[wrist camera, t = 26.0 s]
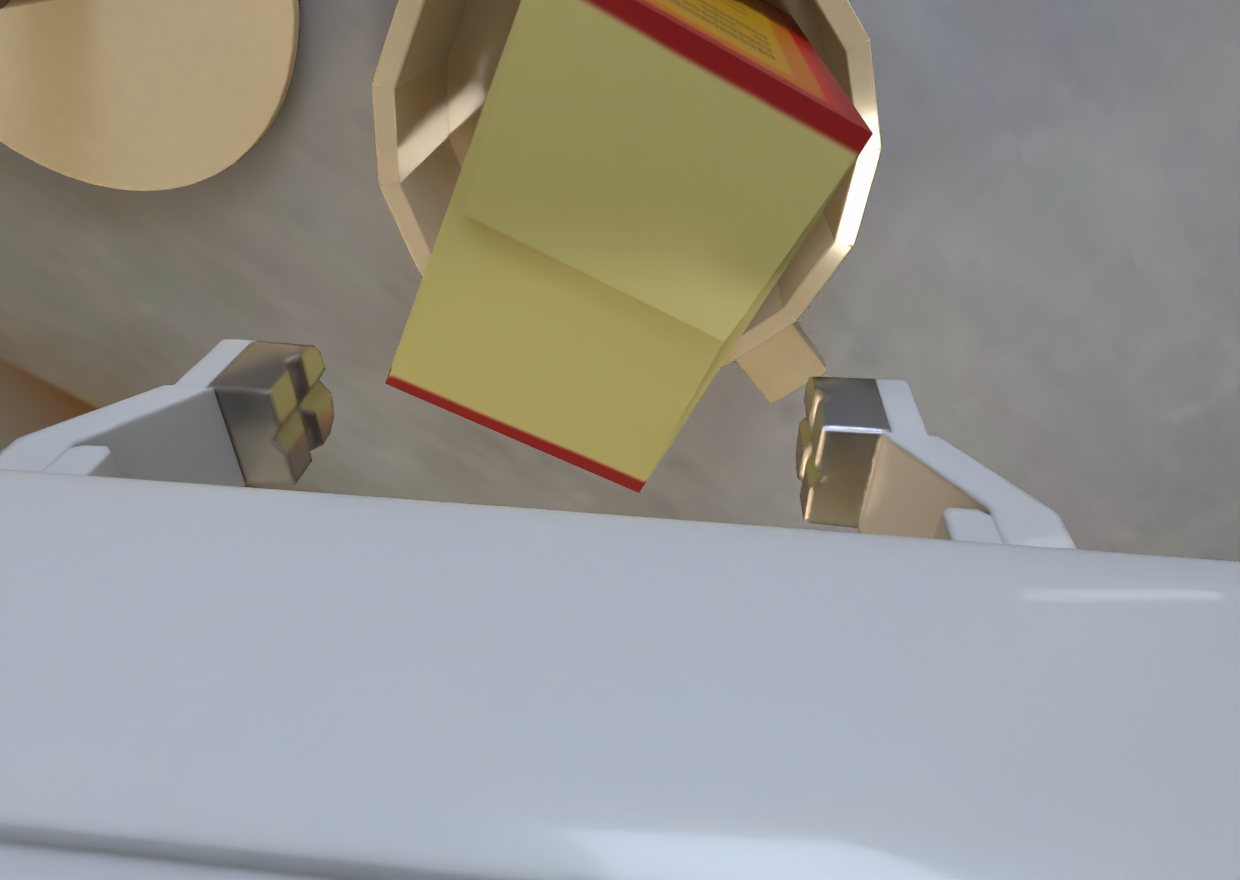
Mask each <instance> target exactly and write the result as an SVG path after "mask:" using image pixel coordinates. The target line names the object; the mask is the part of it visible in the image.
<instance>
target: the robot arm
mask: <svg viewBox="0 0 1240 880" xmlns="http://www.w3.org/2000/svg"><path fill="white" fill-rule="evenodd" d="M324 371H325V367H324V363H323V359H322V356H321V352H320V351H319V350H318V349H317V348H316V347H315V346H314V345H301V344H289V343H277V342H264V341H255V340H235V339H229V340H222V341H221V342H220V343H219V344H218V345H217V346H216V347H214V348H213V349H212V350H211V351H210V352H209V353H208V354H207V355H206V356H205V357H204V358H203V359H202V360H200V361H199V362H198V363H197V364H196V365H195V366H194V367H193V368H192V369H191V370H190V371H189V372H188V373H187V374H185V375H184V376H183V377H182V378H181V379H180V380H179V381H178V382H177V383H176V384H175V385H174V386H171V385H163V386H161V387H158V388H155V389H152V390H150V391H147V392H144V393H141V394H139V395H136V396H133V397H130V398H128V399H125V400H122V401H119V402H117V403H114V404H111V405H108V406H105V407H103V408H100V409H97V410H94V411H92V412H89V413H86V414H83V415H81V416H78V417H75V418H72V419H70V420H67V421H64V422H61V423H59V424H56V425H53V426H50V427H48V428H45V429H42V430H39V431H36V432H34V433H31V434H28V435H25V436H23V437H20V438H17V439H16V440H15V441H14V442H13V443H11V444H10V445H9V446H8V447H6V448H5V449H4V450H3V451H1V452H0V880H1240V562H1237V561H1224V560H1210V559H1197V558H1184V557H1171V556H1157V555H1144V554H1131V553H1118V552H1104V551H1091V550H1077V548H1076V546H1075V544H1074V542H1073V541H1072V539H1071V537H1070V535H1069V533H1068V531H1067V529H1066V528H1065V526H1064V524H1063V522H1062V520H1061V518H1060V516H1059V515H1058V513H1056V512H1055V511H1053V510H1051V509H1050V508H1048V507H1047V506H1045V505H1044V504H1042V503H1041V502H1039V501H1038V500H1036V499H1034V498H1033V497H1031V496H1030V495H1028V494H1027V493H1025V492H1024V491H1022V490H1021V489H1019V488H1017V487H1016V486H1014V485H1013V484H1011V483H1010V482H1008V481H1007V480H1005V479H1004V478H1002V477H1000V476H999V475H997V474H996V473H994V472H993V471H991V470H990V469H988V468H986V467H985V466H983V465H982V464H980V463H979V462H977V461H976V460H974V459H973V458H971V457H969V456H968V455H966V454H965V453H963V452H962V451H960V450H959V449H957V448H956V447H954V446H952V445H951V444H949V443H948V442H946V441H945V440H943V439H942V438H940V437H939V436H929V435H928V432H927V430H926V427H925V425H924V422H923V420H922V417H921V415H920V412H919V410H918V407H917V405H916V402H915V400H914V397H913V394H912V392H911V389H910V387H909V384H908V382H906V381H905V380H887V379H863V378H836V377H809V379H808V383H807V386H806V391H805V396H804V404H805V410H806V416H807V417H805V418H804V419H803V420H802V421H801V422H800V424H799V431H798V438H797V448H796V470H797V478H798V479H799V480H801V481H802V487H801V492H800V500H801V506H802V513H803V519H804V523H812V524H822V525H832V526H842V527H852V528H858V531H859V532H860V533H850V532H837V531H824V530H810V529H797V528H783V527H770V526H757V525H743V524H730V523H716V522H703V521H690V520H676V519H663V518H649V517H636V516H622V515H609V514H596V513H582V512H569V511H555V510H542V509H529V508H515V507H502V506H489V505H475V504H462V503H449V502H435V501H422V500H409V499H395V498H382V497H369V496H355V495H342V494H329V493H315V492H302V491H289V490H275V489H262V488H249V487H243V486H244V485H245V483H267V484H288V485H296V483H297V482H298V480H299V479H300V477H301V476H302V474H303V473H304V472H305V470H306V469H307V467H308V466H309V464H310V463H311V462H312V458H311V454H310V451H311V450H313V449H315V448H317V447H319V446H321V445H323V444H324V442H325V441H326V439H327V438H328V436H329V435H330V432H331V428H332V424H333V419H334V409H333V401H332V396H331V392H330V391H329V390H328V389H327V388H326V387H325V386H324V385H323V384H322V383H321V382H320V380H319V379H320V377H321V376H322V374H323V372H324Z"/></svg>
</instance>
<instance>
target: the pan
mask: <svg viewBox="0 0 1240 880" xmlns="http://www.w3.org/2000/svg"><path fill="white" fill-rule="evenodd" d="M764 1H766V2H768V3H769V4H771V5H773V6H774V7H776V8H778V9H780V10H781V11H783V12H785V13H787V14H788V15H790V16H792V17H793V19H794V20H795V21H796V23H797V24H798V26H799V27H800V29H801V30H802V32H803V33H804V34H805V36H806V37H807V39H808V40H809V42H810V43H811V45H812V46H813V47H814V49H815V50H816V52H817V53H818V55H819V56H820V58H821V59H822V60H823V62H824V63H825V65H826V66H827V68H828V69H829V71H830V72H831V73H832V75H833V76H834V78H835V79H836V81H837V82H838V84H839V85H840V86H841V88H842V89H843V91H844V92H845V94H846V95H847V97H848V98H849V99H850V101H851V102H852V104H853V105H854V107H855V108H856V110H857V111H858V112H859V114H860V115H861V117H862V118H863V120H864V121H865V123H866V124H867V125H868V127H869V128H870V130H871V131H872V133H873V135H872V136H871V138H870V139H869V141H868V142H867V144H866V146H865V147H864V149H863V150H862V152H861V153H860V155H859V156H858V158H857V159H856V161H855V162H854V164H853V165H852V167H851V168H850V170H849V172H848V173H847V175H846V176H845V178H844V179H843V181H842V182H841V184H840V185H839V187H838V188H837V190H836V191H835V193H834V195H833V196H832V198H831V199H830V201H829V202H828V204H827V205H826V207H825V208H824V210H823V211H822V213H821V214H820V216H819V218H818V219H817V221H816V222H815V224H814V225H813V227H812V228H811V230H810V231H809V233H808V234H807V236H806V237H805V239H804V241H803V242H802V244H801V245H800V247H799V248H798V250H797V251H796V253H795V254H794V256H793V257H792V259H791V260H790V262H789V264H788V265H787V267H786V268H785V270H784V271H783V273H782V274H781V276H780V277H779V279H778V280H777V282H776V283H775V285H774V287H773V288H772V290H771V291H770V293H769V294H768V296H767V297H766V299H765V300H764V302H763V303H762V305H761V306H760V308H759V310H758V311H757V313H756V314H755V316H754V317H753V319H752V320H751V322H750V323H749V325H748V326H747V328H746V329H745V331H744V333H743V334H742V336H741V337H740V339H739V340H738V342H737V343H736V345H735V346H734V348H733V349H732V351H731V352H730V354H729V355H728V357H727V359H726V360H725V362H724V363H723V365H722V366H721V368H722V367H725V366H726V365H728V364H730V363H731V362H733V361H734V360H736V361H737V362H738V363H739V364H740V366H741V367H742V368H743V369H744V371H745V372H746V373H747V374H748V376H749V377H750V378H751V379H752V381H753V382H754V383H755V384H756V385H757V387H758V388H759V389H760V390H761V392H762V393H763V394H764V395H765V397H766V398H767V399H768V400H769V402H770V403H771V404H773V403H775V402H776V401H778V400H780V399H781V398H783V397H785V396H787V395H788V394H790V393H792V392H793V391H795V390H797V389H799V388H800V387H802V386H804V385H805V384H807V383H808V379H809V377H819V376H821V375H822V374H824V373H826V372H827V368H826V364H825V360H824V358H823V356H822V355H821V354H820V352H819V351H818V350H817V348H816V347H815V345H814V344H813V343H812V341H811V340H810V339H809V337H808V336H807V335H806V333H805V332H804V331H803V329H802V328H801V327H800V325H799V324H798V323H797V320H798V319H799V318H800V317H801V315H802V314H803V313H804V311H805V310H806V309H807V307H808V306H809V305H810V303H811V302H812V301H813V300H814V298H815V297H816V296H817V294H818V293H819V292H820V290H821V289H822V288H823V286H824V285H825V284H826V282H827V281H828V280H829V279H830V277H831V276H832V275H833V273H834V272H835V271H836V269H837V268H838V267H839V265H840V264H841V263H842V261H843V260H844V259H845V258H846V256H847V255H848V254H849V252H850V251H851V250H852V248H853V246H854V245H855V243H856V239H857V236H858V232H859V229H860V225H861V222H862V218H863V215H864V211H865V208H866V204H867V201H868V197H869V194H870V190H871V187H872V183H873V180H874V176H875V173H876V169H877V166H878V162H879V159H880V155H881V152H882V139H881V130H880V121H879V112H878V103H877V94H876V85H875V76H874V67H873V58H872V49H871V41H870V39H869V35H868V33H867V32H866V30H865V28H864V27H863V25H862V23H861V21H860V20H859V18H858V16H857V14H856V13H855V11H854V9H853V8H852V6H851V4H850V2H849V1H848V0H764ZM520 2H521V0H398V3H397V6H396V9H395V12H394V15H393V18H392V21H391V24H390V27H389V30H388V34H387V37H386V40H385V43H384V46H383V49H382V52H381V55H380V58H379V61H378V64H377V68H376V71H375V74H374V77H373V80H372V81H373V83H372V84H371V86H372V99H373V112H374V125H375V139H376V152H377V165H378V179H379V185H380V188H381V190H382V193H383V195H384V197H385V199H386V201H387V203H388V206H389V208H390V210H391V212H392V214H393V216H394V219H395V221H396V223H397V225H398V227H399V229H400V232H401V234H402V236H403V238H404V240H405V242H406V245H407V247H408V249H409V251H410V253H411V255H412V258H413V260H414V262H415V264H416V266H417V268H418V270H419V271H420V273H421V274H422V275H423V276H424V273H425V270H426V267H427V265H428V262H429V259H430V256H431V253H432V251H433V248H434V245H435V242H436V239H437V236H438V234H439V231H440V228H441V225H442V222H443V220H444V217H445V214H446V211H447V208H448V205H449V203H450V200H451V197H452V194H453V191H454V188H455V186H456V183H457V180H458V177H459V174H460V172H461V169H462V166H463V163H464V160H465V157H466V155H467V152H468V149H469V146H470V143H471V141H472V138H473V135H474V132H475V129H476V126H477V124H478V121H479V118H480V115H481V112H482V110H483V107H484V104H485V101H486V98H487V95H488V93H489V90H490V87H491V84H492V81H493V79H494V76H495V73H496V70H497V67H498V64H499V62H500V59H501V56H502V53H503V50H504V48H505V45H506V42H507V39H508V36H509V33H510V31H511V28H512V25H513V22H514V19H515V16H516V14H517V11H518V8H519V5H520Z"/></svg>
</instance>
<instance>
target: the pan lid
mask: <svg viewBox="0 0 1240 880" xmlns="http://www.w3.org/2000/svg"><path fill="white" fill-rule="evenodd" d="M298 33H299V1H298V0H0V142H2V143H3V144H5V145H6V146H8V147H9V148H11V149H13V150H15V151H16V152H18V153H20V154H22V155H24V156H25V157H27V158H29V159H31V160H33V161H35V162H36V163H38V164H40V165H43V166H45V167H47V168H50V169H52V170H54V171H57V172H59V173H61V174H63V175H66V176H69V177H72V178H75V179H78V180H81V181H85V182H88V183H91V184H95V185H100V186H105V187H110V188H115V189H121V190H136V191H156V190H170V189H175V188H179V187H184V186H188V185H192V184H195V183H198V182H200V181H203V180H205V179H208V178H210V177H212V176H215V175H217V174H218V173H220V172H222V171H223V170H225V169H226V168H228V167H230V166H231V165H233V164H234V163H236V162H237V161H239V160H240V159H241V158H242V157H244V156H245V155H246V154H247V153H248V152H249V151H250V150H251V149H252V148H253V147H254V146H256V145H257V143H258V142H259V141H260V139H261V138H262V137H263V136H264V134H265V133H266V132H267V130H268V129H269V128H270V126H271V125H272V123H273V121H274V119H275V117H276V116H277V114H278V112H279V110H280V108H281V106H282V104H283V102H284V99H285V96H286V93H287V90H288V88H289V85H290V82H291V79H292V75H293V70H294V65H295V59H296V54H297V49H298Z"/></svg>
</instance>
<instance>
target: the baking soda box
mask: <svg viewBox="0 0 1240 880" xmlns="http://www.w3.org/2000/svg"><path fill="white" fill-rule="evenodd" d="M872 135H873V133H872V131H871V130H870V128H869V127H868V125H867V124H866V123H865V121H864V120H863V118H862V117H861V115H860V114H859V112H858V111H857V110H856V108H855V107H854V105H853V104H852V102H851V101H850V99H849V98H848V97H847V95H846V94H845V92H844V91H843V89H842V88H841V86H840V85H839V84H838V82H837V81H836V79H835V78H834V76H833V75H832V73H831V72H830V71H829V69H828V68H827V66H826V65H825V63H824V62H823V60H822V59H821V58H820V56H819V55H818V53H817V52H816V50H815V49H814V47H813V46H812V45H811V43H810V42H809V40H808V39H807V37H806V36H805V34H804V33H803V32H802V30H801V29H800V27H799V26H798V24H797V23H796V21H795V20H794V19H793V17H792V16H790V15H788V14H787V13H785V12H783V11H781V10H780V9H778V8H776V7H774V6H773V5H771V4H769V3H768V2H766V1H764V0H521V2H520V5H519V8H518V11H517V14H516V16H515V19H514V22H513V25H512V28H511V31H510V33H509V36H508V39H507V42H506V45H505V48H504V50H503V53H502V56H501V59H500V62H499V64H498V67H497V70H496V73H495V76H494V79H493V81H492V84H491V87H490V90H489V93H488V95H487V98H486V101H485V104H484V107H483V110H482V112H481V115H480V118H479V121H478V124H477V126H476V129H475V132H474V135H473V138H472V141H471V143H470V146H469V149H468V152H467V155H466V157H465V160H464V163H463V166H462V169H461V172H460V174H459V177H458V180H457V183H456V186H455V188H454V191H453V194H452V197H451V200H450V203H449V205H448V208H447V211H446V214H445V217H444V220H443V222H442V225H441V228H440V231H439V234H438V236H437V239H436V242H435V245H434V248H433V251H432V253H431V256H430V259H429V262H428V265H427V267H426V270H425V273H424V276H423V279H422V282H421V284H420V287H419V290H418V293H417V296H416V298H415V301H414V304H413V307H412V310H411V313H410V315H409V318H408V321H407V324H406V327H405V329H404V332H403V335H402V338H401V341H400V344H399V346H398V349H397V352H396V355H395V358H394V360H393V363H392V366H391V369H390V372H389V375H388V377H387V380H386V383H385V384H388V385H390V386H392V387H395V388H397V389H399V390H402V391H404V392H406V393H409V394H411V395H413V396H416V397H418V398H420V399H423V400H425V401H427V402H429V403H432V404H434V405H436V406H439V407H441V408H443V409H446V410H448V411H450V412H453V413H455V414H457V415H460V416H462V417H464V418H467V419H469V420H471V421H473V422H476V423H478V424H480V425H483V426H485V427H487V428H490V429H492V430H494V431H497V432H499V433H501V434H504V435H506V436H508V437H511V438H513V439H515V440H517V441H520V442H522V443H524V444H527V445H529V446H531V447H534V448H536V449H538V450H541V451H543V452H545V453H548V454H550V455H552V456H555V457H557V458H559V459H561V460H564V461H566V462H568V463H571V464H573V465H575V466H578V467H580V468H582V469H585V470H587V471H589V472H592V473H594V474H596V475H599V476H601V477H603V478H606V479H608V480H610V481H612V482H615V483H617V484H619V485H622V486H624V487H626V488H629V489H631V490H633V491H636V492H638V493H639V492H640V490H641V489H642V487H643V486H644V484H645V483H646V481H647V480H648V478H649V477H650V475H651V474H652V472H653V470H654V469H655V467H656V466H657V464H658V463H659V461H660V460H661V458H662V457H663V455H664V454H665V452H666V451H667V449H668V447H669V446H670V444H671V443H672V441H673V440H674V438H675V437H676V435H677V434H678V432H679V431H680V429H681V428H682V426H683V424H684V423H685V421H686V420H687V418H688V417H689V415H690V414H691V412H692V411H693V409H694V408H695V406H696V405H697V403H698V401H699V400H700V398H701V397H702V395H703V394H704V392H705V391H706V389H707V388H708V386H709V385H710V383H711V382H712V380H713V378H714V377H715V375H716V374H717V372H718V371H719V369H720V368H721V366H722V365H723V363H724V362H725V360H726V359H727V357H728V355H729V354H730V352H731V351H732V349H733V348H734V346H735V345H736V343H737V342H738V340H739V339H740V337H741V336H742V334H743V333H744V331H745V329H746V328H747V326H748V325H749V323H750V322H751V320H752V319H753V317H754V316H755V314H756V313H757V311H758V310H759V308H760V306H761V305H762V303H763V302H764V300H765V299H766V297H767V296H768V294H769V293H770V291H771V290H772V288H773V287H774V285H775V283H776V282H777V280H778V279H779V277H780V276H781V274H782V273H783V271H784V270H785V268H786V267H787V265H788V264H789V262H790V260H791V259H792V257H793V256H794V254H795V253H796V251H797V250H798V248H799V247H800V245H801V244H802V242H803V241H804V239H805V237H806V236H807V234H808V233H809V231H810V230H811V228H812V227H813V225H814V224H815V222H816V221H817V219H818V218H819V216H820V214H821V213H822V211H823V210H824V208H825V207H826V205H827V204H828V202H829V201H830V199H831V198H832V196H833V195H834V193H835V191H836V190H837V188H838V187H839V185H840V184H841V182H842V181H843V179H844V178H845V176H846V175H847V173H848V172H849V170H850V168H851V167H852V165H853V164H854V162H855V161H856V159H857V158H858V156H859V155H860V153H861V152H862V150H863V149H864V147H865V146H866V144H867V142H868V141H869V139H870V138H871V136H872Z"/></svg>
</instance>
